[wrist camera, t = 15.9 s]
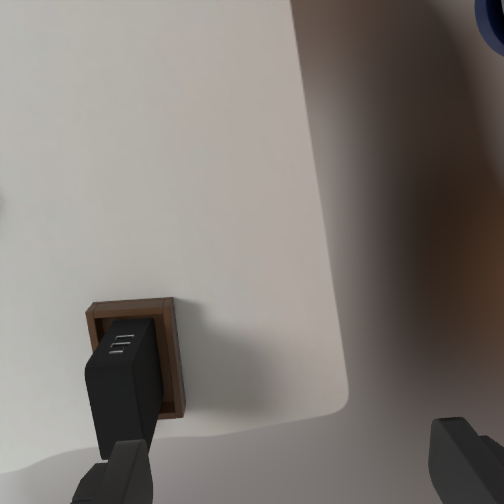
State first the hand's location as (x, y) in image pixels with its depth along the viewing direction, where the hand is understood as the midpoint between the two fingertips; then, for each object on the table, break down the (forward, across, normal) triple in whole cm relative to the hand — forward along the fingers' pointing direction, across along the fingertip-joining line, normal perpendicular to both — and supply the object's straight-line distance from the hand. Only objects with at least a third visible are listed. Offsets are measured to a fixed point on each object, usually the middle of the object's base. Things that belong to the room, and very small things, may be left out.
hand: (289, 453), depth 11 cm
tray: (+32, +13, +15) cm, 38 cm away
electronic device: (+31, +13, +15) cm, 37 cm away
